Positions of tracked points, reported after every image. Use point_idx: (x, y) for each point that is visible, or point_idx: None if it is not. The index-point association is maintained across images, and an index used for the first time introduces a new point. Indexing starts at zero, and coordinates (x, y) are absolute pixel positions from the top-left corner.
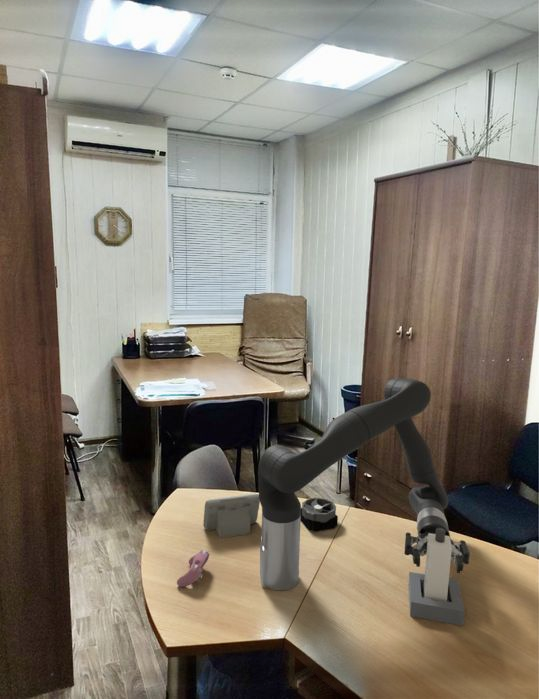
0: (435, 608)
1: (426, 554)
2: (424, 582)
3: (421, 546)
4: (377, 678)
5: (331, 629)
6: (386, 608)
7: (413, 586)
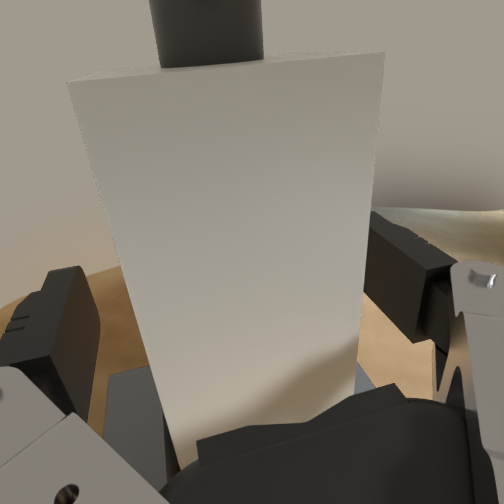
0: None
1: (359, 322)
2: None
3: (453, 308)
4: None
5: (461, 248)
6: (419, 363)
7: None
